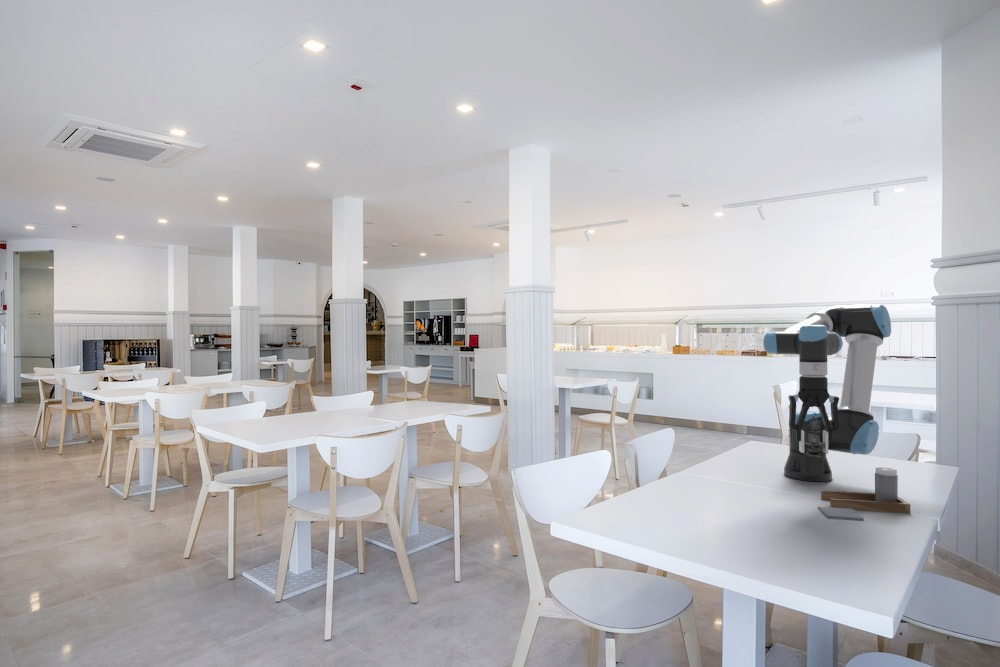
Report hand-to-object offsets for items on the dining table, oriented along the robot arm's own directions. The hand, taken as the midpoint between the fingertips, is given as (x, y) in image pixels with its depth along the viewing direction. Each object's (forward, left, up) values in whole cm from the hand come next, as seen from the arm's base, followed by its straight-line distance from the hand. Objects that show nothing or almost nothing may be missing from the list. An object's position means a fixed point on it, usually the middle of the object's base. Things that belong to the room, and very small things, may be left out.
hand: (813, 452), depth 175 cm
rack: (0, +13, -15) cm, 20 cm away
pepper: (0, +19, -15) cm, 25 cm away
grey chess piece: (0, 0, -1) cm, 1 cm away
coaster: (+11, +4, -15) cm, 19 cm away
